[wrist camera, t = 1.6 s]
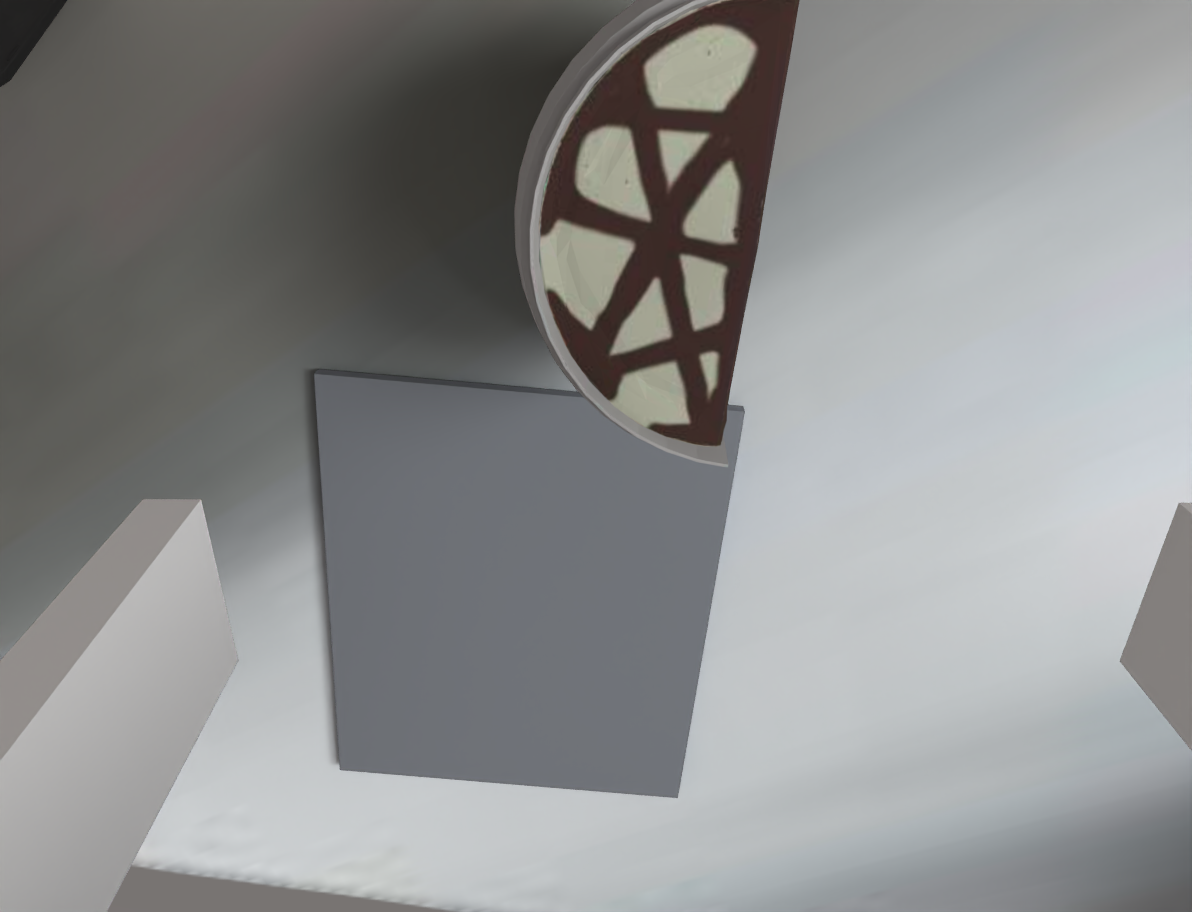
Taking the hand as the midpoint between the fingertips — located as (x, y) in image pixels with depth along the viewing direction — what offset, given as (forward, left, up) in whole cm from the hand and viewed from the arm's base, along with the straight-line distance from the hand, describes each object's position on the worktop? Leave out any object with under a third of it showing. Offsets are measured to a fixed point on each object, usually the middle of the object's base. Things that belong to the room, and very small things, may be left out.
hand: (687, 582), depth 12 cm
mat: (+4, +16, -20) cm, 26 cm away
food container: (+1, -2, -21) cm, 21 cm away
